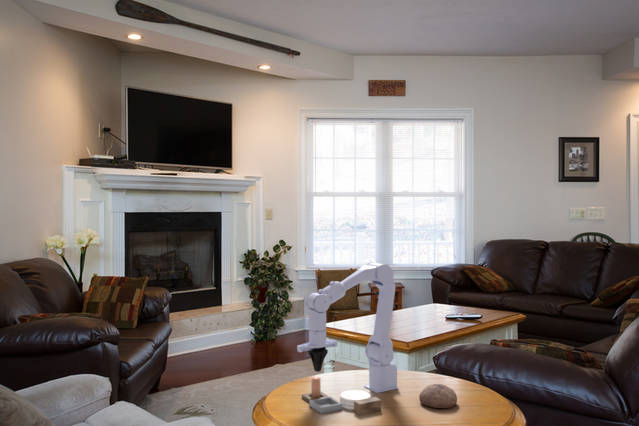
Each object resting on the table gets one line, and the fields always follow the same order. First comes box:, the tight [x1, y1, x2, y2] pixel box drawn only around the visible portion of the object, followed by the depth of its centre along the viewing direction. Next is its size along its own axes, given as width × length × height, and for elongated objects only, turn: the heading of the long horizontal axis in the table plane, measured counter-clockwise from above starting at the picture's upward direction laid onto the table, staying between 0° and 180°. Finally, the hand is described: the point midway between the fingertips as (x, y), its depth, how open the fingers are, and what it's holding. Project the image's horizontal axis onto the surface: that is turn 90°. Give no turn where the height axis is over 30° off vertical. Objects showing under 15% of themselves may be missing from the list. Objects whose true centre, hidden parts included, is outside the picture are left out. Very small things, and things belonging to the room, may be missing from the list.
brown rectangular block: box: [353, 396, 382, 416], centre depth 167 cm, size 8×3×4 cm, turn 118°
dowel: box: [310, 376, 322, 399], centre depth 178 cm, size 3×3×7 cm
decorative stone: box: [418, 383, 458, 409], centre depth 174 cm, size 12×12×6 cm
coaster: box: [339, 389, 372, 411], centre depth 173 cm, size 10×10×4 cm
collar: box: [301, 391, 330, 404], centre depth 178 cm, size 7×7×1 cm
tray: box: [309, 396, 343, 415], centre depth 170 cm, size 8×8×2 cm
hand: (317, 370), depth 178 cm, fingers closed
